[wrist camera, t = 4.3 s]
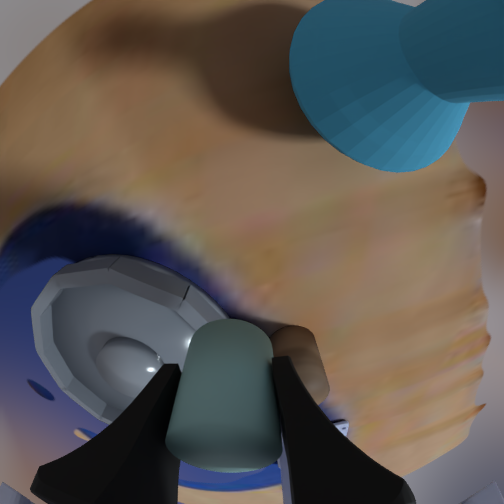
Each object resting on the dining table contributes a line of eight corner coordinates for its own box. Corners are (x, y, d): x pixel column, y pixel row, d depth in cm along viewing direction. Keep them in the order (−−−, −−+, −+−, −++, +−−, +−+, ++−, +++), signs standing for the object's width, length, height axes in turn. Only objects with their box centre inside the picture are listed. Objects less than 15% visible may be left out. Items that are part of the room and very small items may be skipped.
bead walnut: (315, 358, 20) (328, 405, 16) (270, 364, 21) (274, 414, 16) (314, 322, 19) (330, 370, 15) (264, 329, 19) (268, 379, 15)
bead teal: (275, 376, 12) (284, 469, 7) (199, 381, 12) (185, 470, 8) (268, 314, 11) (280, 418, 6) (180, 322, 11) (147, 420, 6)
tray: (259, 417, 23) (260, 440, 21) (100, 411, 24) (92, 429, 21) (223, 236, 17) (218, 252, 14) (22, 268, 18) (3, 282, 15)
